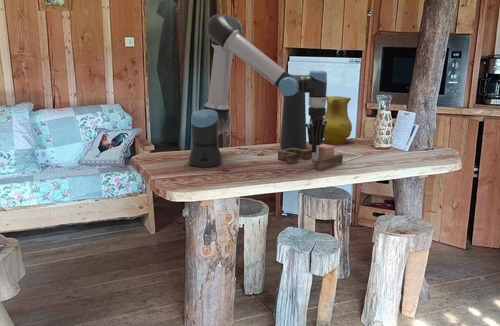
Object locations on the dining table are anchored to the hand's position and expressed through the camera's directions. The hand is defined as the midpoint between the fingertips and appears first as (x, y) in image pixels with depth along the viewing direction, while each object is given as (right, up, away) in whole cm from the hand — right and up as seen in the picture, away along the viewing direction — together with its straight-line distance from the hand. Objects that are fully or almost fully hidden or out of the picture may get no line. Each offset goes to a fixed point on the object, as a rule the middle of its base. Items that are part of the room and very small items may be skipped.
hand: (315, 159), depth 219 cm
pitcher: (+18, +10, +48) cm, 53 cm away
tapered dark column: (-7, +6, +34) cm, 35 cm away
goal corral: (+13, +2, +15) cm, 20 cm away
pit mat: (-9, 0, +8) cm, 12 cm away
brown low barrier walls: (-3, -1, +3) cm, 5 cm away
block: (+4, -1, +5) cm, 6 cm away
